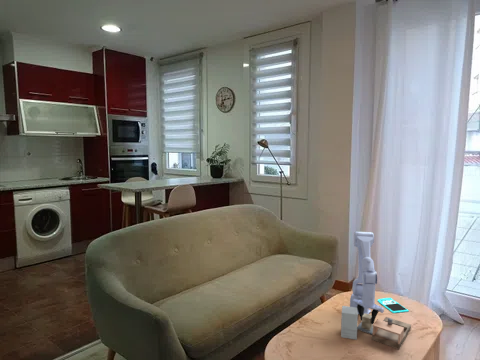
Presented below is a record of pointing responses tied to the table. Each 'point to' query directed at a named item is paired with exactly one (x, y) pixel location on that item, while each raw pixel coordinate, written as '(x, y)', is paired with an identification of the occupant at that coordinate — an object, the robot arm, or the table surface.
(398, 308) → the handheld game console
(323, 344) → the table surface
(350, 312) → the supplement box
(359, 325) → the slate mat
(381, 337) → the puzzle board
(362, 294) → the robot arm
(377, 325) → the slide cover
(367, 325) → the birch block
